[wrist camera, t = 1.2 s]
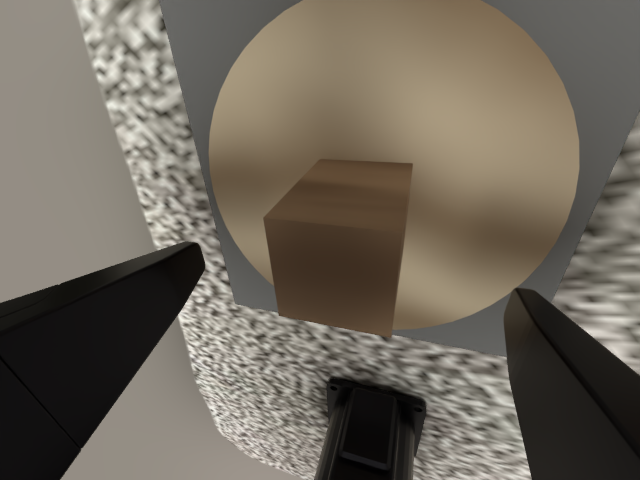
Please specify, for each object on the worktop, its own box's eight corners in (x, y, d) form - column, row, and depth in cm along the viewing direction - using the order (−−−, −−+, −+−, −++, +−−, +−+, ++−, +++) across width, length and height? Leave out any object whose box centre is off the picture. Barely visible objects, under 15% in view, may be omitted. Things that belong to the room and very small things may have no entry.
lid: (507, 341, 15) (542, 478, 10) (247, 294, 19) (185, 378, 14) (661, -49, 8) (1038, -198, 3) (182, 4, 11) (7, -22, 7)
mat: (521, 350, 16) (524, 360, 15) (240, 297, 20) (235, 303, 19) (722, -105, 7) (743, -115, 7) (163, -25, 12) (151, -28, 11)
